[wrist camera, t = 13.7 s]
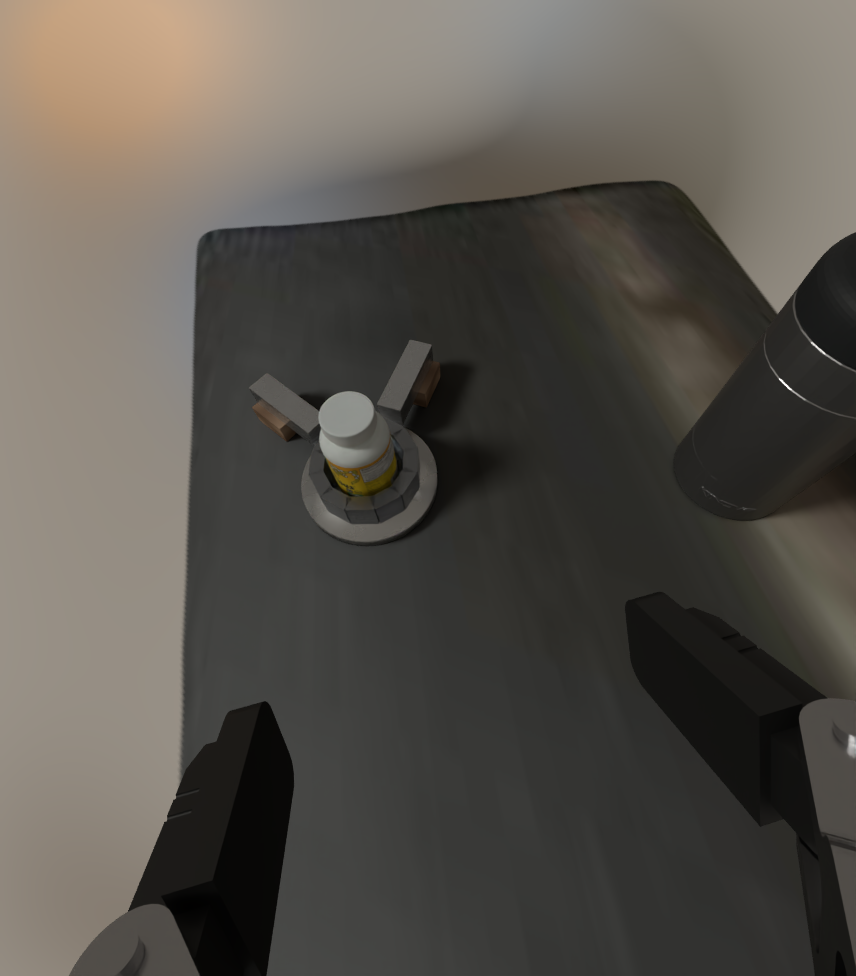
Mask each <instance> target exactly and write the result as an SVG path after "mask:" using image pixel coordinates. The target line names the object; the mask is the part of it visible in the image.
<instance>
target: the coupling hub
mask: <svg viewBox="0 0 856 976" xmlns="http://www.w3.org/2000/svg"><path fill="white" fill-rule="evenodd" d="M383 418H384V417H383ZM384 419H385V421H386V423H387V425H388V427H389V431H390V435H391V439H392V443H393V448H394V452H395V456H396V460H397V464H398V470H399V476H398V477H397V479H396V480H395V481H394V483H393V484H392V486H390V487H389V488H387V489H385V490H383V491H381V492H379V493H377V494H375V495H373V496H356V497H350V496H348V495H346V494H344V493H342V491H341V489H340V488H339V486H338V483H337V481H336V479H335V477H334V475H333V473H332V471H331V469H330V467H329V465H328V463H327V461H326V459H325V457H324V455H323V452H322V450H321V447H320V443H319V441H318V443H317V444H316V445H315V446H314V448H313V449H312V452H311V456H310V458H309V459H308V461H307V463H306V466H305V469H304V472H303V476H302V485H301V487H302V496H303V500H304V503H305V506H306V508H307V510H308V512H309V514H310V515H311V517H312V518H313V520H314V521H315V523H316V524H317V525H318V526H319V527H320V528H321V529H322V530H323V531H324V532H325V533H326V534H328V535H329V536H331V537H332V538H334V539H336V540H338V541H341V542H344V543H347V544H351V545H357V546H376V545H381V544H386V543H389V542H392V541H395V540H397V539H399V538H401V537H403V536H405V535H406V534H408V533H409V532H411V531H412V530H413V529H414V528H416V527H417V526H418V525H419V524H420V523H421V522H422V521H423V520H424V518H425V517H426V516H427V514H428V513H429V511H430V509H431V507H432V505H433V503H434V500H435V497H436V493H437V484H438V480H437V468H436V464H435V460H434V457H433V455H432V453H431V451H430V449H429V447H428V446H427V445H426V444H425V442H424V441H423V440H422V439H421V438H420V437H419V436H418V435H416V434H415V433H413V432H412V431H410V430H408V429H407V428H405V427H403V426H401V425H399V424H397V423H395V422H392V421H390V420H388V419H386V418H384Z"/></svg>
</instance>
